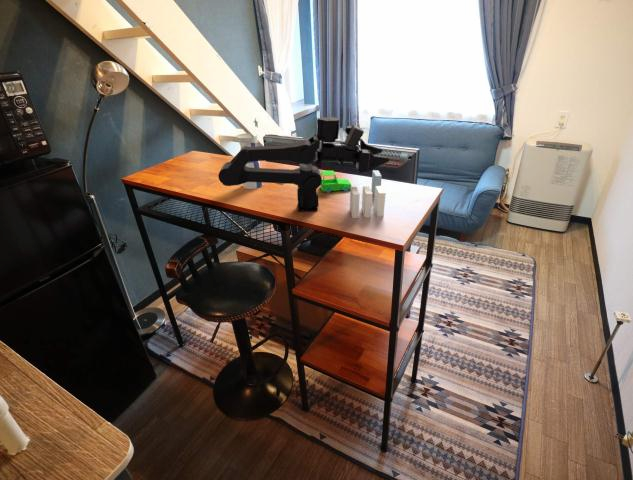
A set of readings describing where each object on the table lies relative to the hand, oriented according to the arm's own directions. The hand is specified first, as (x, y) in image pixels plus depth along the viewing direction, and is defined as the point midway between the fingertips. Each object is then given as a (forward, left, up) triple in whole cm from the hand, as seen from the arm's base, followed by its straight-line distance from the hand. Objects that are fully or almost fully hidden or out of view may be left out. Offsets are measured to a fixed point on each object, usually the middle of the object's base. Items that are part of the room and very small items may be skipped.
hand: (385, 155), depth 109 cm
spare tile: (0, +8, -17) cm, 19 cm away
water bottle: (-46, +22, -17) cm, 54 cm away
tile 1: (-10, -7, -17) cm, 21 cm away
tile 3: (-2, -7, -17) cm, 18 cm away
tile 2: (-6, -7, -17) cm, 19 cm away
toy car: (-14, +15, -17) cm, 27 cm away
